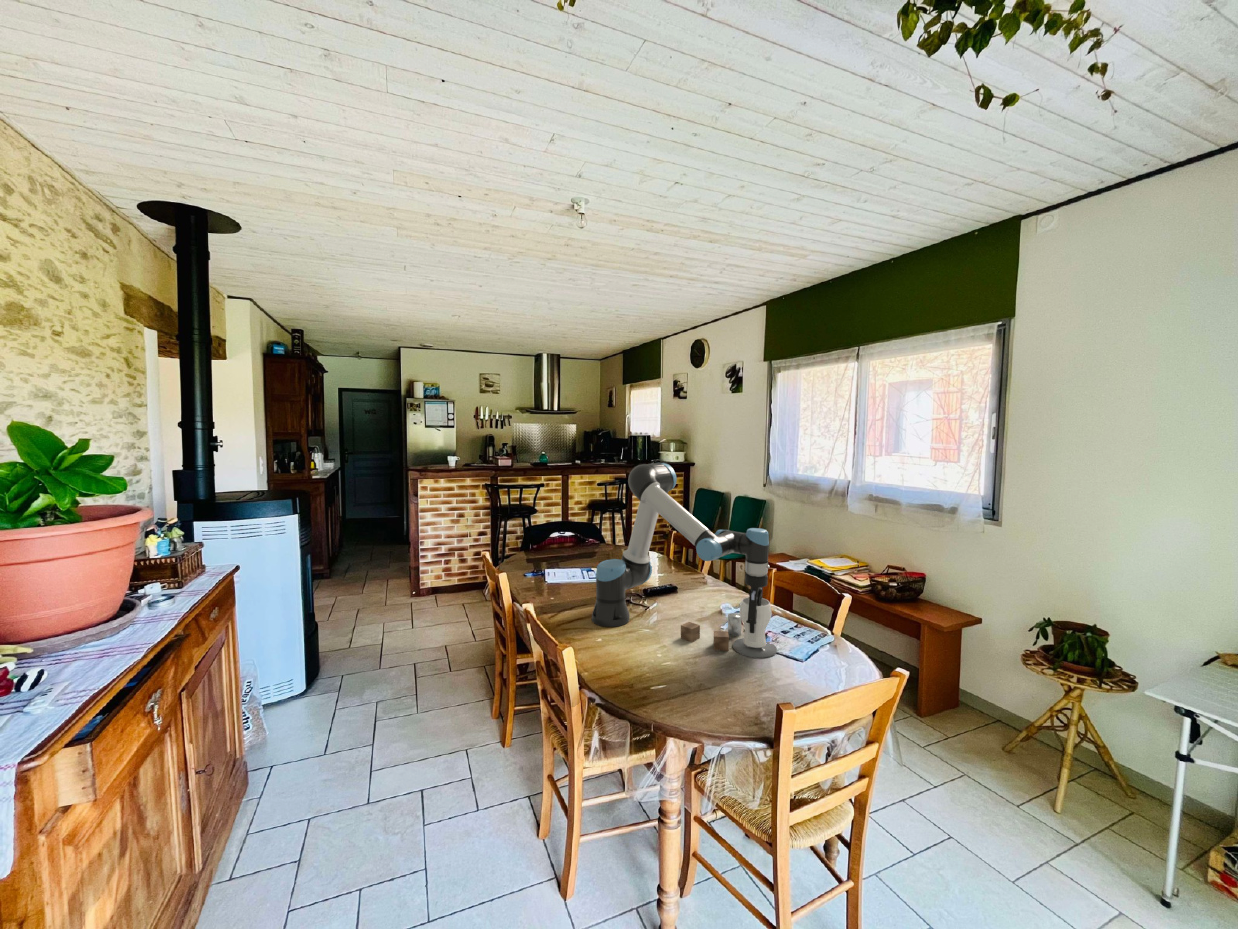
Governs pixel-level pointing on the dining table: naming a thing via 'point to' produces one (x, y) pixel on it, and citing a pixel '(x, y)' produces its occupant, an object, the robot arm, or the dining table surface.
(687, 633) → the walnut block
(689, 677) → the dining table surface
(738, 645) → the disc
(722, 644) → the walnut block
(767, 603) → the cup
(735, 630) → the grey tin
